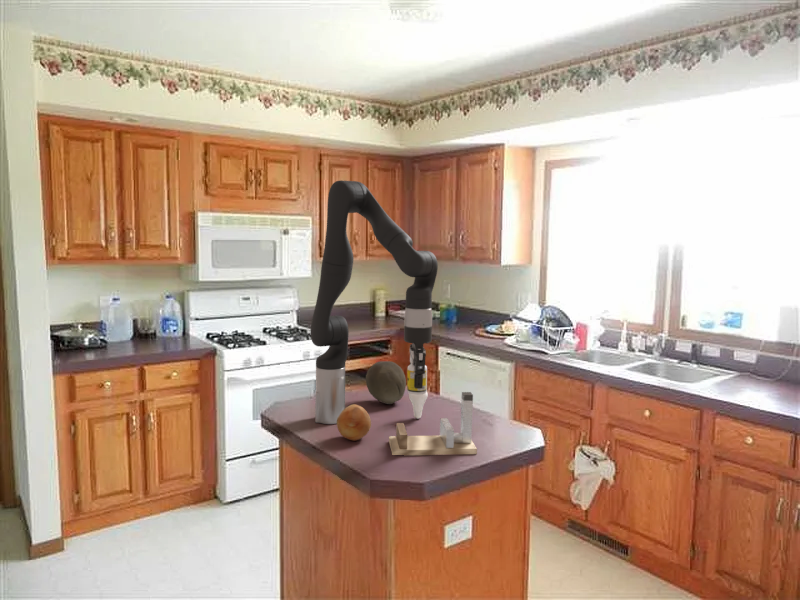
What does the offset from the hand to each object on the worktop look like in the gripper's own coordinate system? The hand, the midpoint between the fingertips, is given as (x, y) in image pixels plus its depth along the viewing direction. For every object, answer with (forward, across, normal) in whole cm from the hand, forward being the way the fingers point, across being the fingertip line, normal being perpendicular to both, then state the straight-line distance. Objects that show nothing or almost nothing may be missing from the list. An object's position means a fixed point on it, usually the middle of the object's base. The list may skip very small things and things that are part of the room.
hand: (416, 385), depth 159 cm
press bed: (+18, 0, -5) cm, 18 cm away
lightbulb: (+18, +26, -4) cm, 32 cm away
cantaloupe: (+18, +44, +5) cm, 48 cm away
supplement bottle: (+2, 0, 0) cm, 2 cm away
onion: (+18, +8, +17) cm, 26 cm away
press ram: (+16, 0, -12) cm, 20 cm away
